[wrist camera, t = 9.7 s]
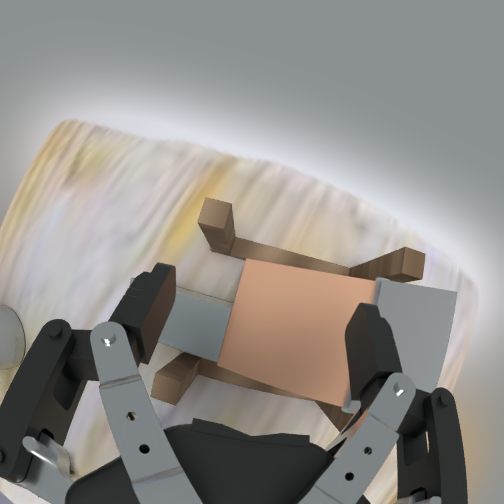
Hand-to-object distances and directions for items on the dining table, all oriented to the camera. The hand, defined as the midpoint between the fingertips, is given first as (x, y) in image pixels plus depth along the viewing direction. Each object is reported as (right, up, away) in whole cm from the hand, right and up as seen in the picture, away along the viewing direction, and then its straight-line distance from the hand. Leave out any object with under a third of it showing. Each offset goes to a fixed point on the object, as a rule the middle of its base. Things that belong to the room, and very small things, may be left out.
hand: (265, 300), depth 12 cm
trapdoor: (+6, -5, +10) cm, 13 cm away
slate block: (-8, -4, +15) cm, 17 cm away
